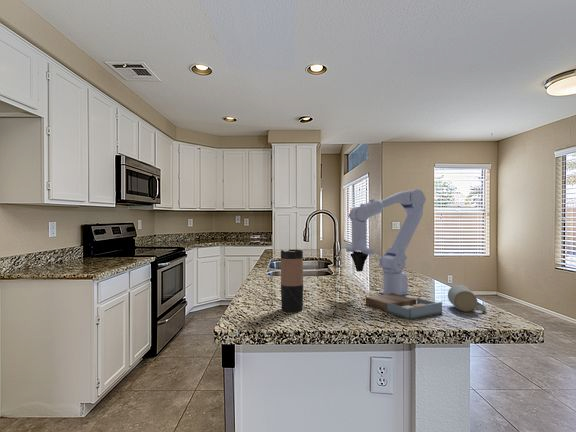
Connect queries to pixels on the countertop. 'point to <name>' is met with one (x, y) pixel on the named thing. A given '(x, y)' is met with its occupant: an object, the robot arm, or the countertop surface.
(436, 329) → the countertop surface
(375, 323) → the countertop surface
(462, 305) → the ceramic mug
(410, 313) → the tray
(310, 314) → the countertop surface
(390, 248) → the robot arm
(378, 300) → the walnut board
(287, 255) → the travel mug
